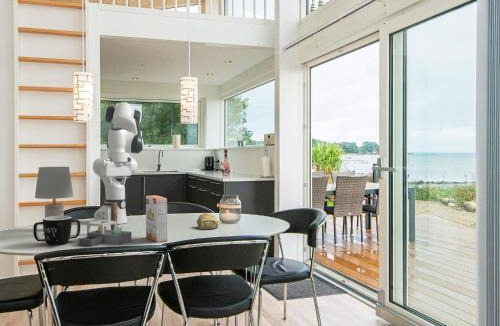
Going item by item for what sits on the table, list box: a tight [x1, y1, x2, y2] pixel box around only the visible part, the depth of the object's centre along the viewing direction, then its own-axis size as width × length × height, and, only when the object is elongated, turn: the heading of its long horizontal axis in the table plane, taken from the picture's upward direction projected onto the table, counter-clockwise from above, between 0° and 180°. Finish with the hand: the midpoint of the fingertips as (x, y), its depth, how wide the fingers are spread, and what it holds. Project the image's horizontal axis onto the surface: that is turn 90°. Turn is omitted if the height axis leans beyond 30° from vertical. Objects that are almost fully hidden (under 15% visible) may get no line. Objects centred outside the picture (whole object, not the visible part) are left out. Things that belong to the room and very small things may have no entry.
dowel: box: [110, 202, 117, 230], centre depth 221 cm, size 3×3×16 cm
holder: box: [78, 236, 103, 247], centre depth 195 cm, size 7×7×3 cm
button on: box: [114, 226, 123, 234], centre depth 202 cm, size 4×4×4 cm
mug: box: [32, 215, 81, 246], centre depth 196 cm, size 16×16×12 cm
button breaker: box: [97, 226, 107, 233], centre depth 205 cm, size 4×4×4 cm
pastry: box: [196, 213, 219, 231], centre depth 239 cm, size 14×12×8 cm
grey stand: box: [86, 220, 133, 245], centre depth 204 cm, size 18×10×8 cm, turn 67°
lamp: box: [34, 166, 74, 218], centre depth 230 cm, size 19×19×34 cm
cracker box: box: [145, 195, 168, 244], centre depth 206 cm, size 14×6×21 cm, turn 33°
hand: (116, 185), depth 221 cm, fingers open, 8 cm apart
